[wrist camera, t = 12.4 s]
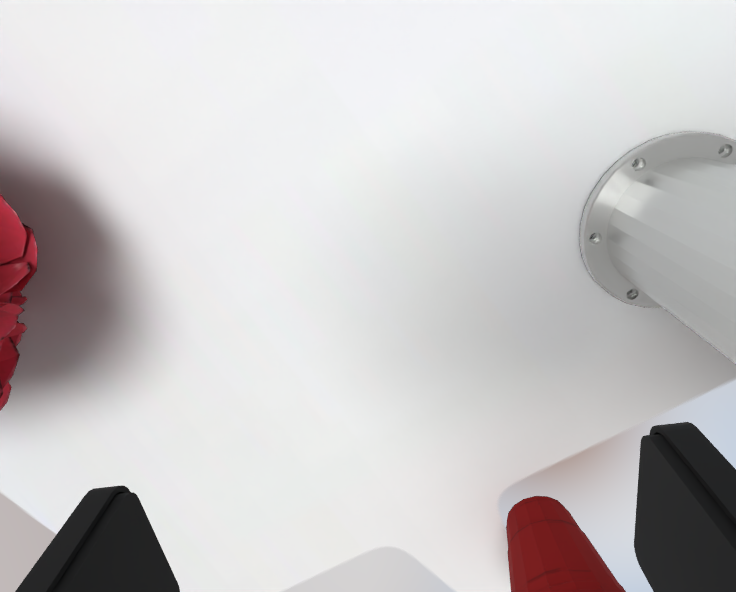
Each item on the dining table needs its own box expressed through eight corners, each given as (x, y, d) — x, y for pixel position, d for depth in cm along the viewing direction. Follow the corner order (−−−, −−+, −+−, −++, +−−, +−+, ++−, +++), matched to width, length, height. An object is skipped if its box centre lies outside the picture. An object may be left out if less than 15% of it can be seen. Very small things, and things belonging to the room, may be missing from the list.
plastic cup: (511, 572, 50) (547, 710, 39) (460, 504, 46) (485, 635, 35) (612, 533, 47) (682, 668, 36) (567, 458, 44) (629, 582, 33)
